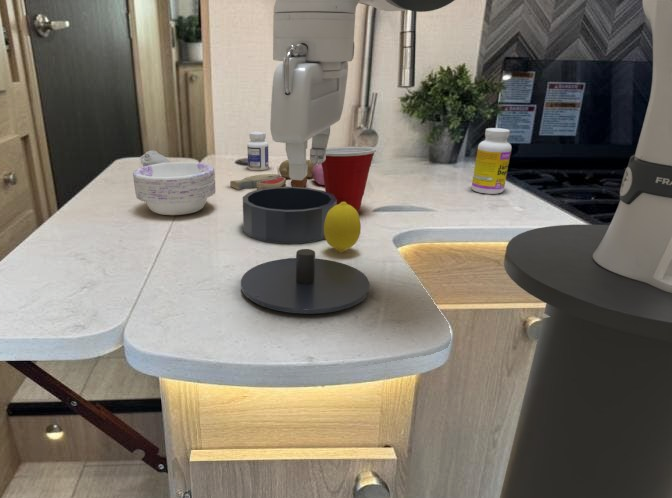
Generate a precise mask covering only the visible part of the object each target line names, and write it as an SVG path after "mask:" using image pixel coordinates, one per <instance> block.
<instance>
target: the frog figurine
mask: <svg viewBox="0 0 672 498" xmlns="http://www.w3.org/2000/svg"><path fill="white" fill-rule="evenodd" d="M139 160H140V163H141V164H142V167H144V166H148V165H153V164H160V163H169V162H171V160H169V158H167V157H166V156H164V155H162V154H160V153H159V152H158V151H156V150H154V149H153V150H148V151H146V152H145V153H144V154H142V155H141V156H140V157H139Z"/></svg>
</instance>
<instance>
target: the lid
mask: <svg viewBox="0 0 672 498" xmlns="http://www.w3.org/2000/svg"><path fill="white" fill-rule="evenodd" d="M295 255H296V256H295V257H290V258H289V257H288V258H280V259H275V260H270V261H266V262H262V263H260V264H258V265H255V266H253V267H251V268H250V269H247V271H246V272H244V274H243V275H242V277H241V280H240V289H241V291H242V293H243V295H244V296H245V297H246V298H247V299H249V300H250V301H251V302H253V303H254V304H257V305H259V306H261V307H264V308H267V309H270V310H273V311H278V312H283V313H284V312H285V313H290V314H304V315H309V314H312V315H314V314H316V315H317V314H326V313H334V312H338V311H343V310H346V309H350V308H351V307H354V306H356V305H358V304H360V303H361V302H363V301H364V300H365V299H366V298H367V297H368V295H369V293H370V290H371V282H370V279H369V278H368V277H367V275H366V274H365V273H364V272H362V271H361V270H360V269H358V268H355V267H353V266H352V265H349V264H345V263H343V262H339V261H335V260H330V259H324V258H316V251H315V250H313V249H311V248H310V249H309V248H301V249H298V250H297V251H296V254H295Z"/></svg>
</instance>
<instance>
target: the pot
mask: <svg viewBox="0 0 672 498" xmlns="http://www.w3.org/2000/svg"><path fill="white" fill-rule="evenodd" d="M335 205H337V199H336V198H335V196H334V195H333V194H330V193H328V192H325V190H321V189H317V188H313V187H303V188H302V187H292V186H286V187H273V188H266V189H260V190H257V189H256V190H254V191H253V190H252V191H250V192H247V193H246V194H245V195H243V196H242V223H243V224H242V226H243V232H244V233H245V234H246V235H247V236H249V237H250V238H253V239H254V240H258V241H261V242H266V243H273V244H283V245H285V244H286V245H295V244H307V243H315V242H319V241H322V240H326V238H325V235H324V222H325V218H326V216H327V213H328V211H329V210H330V209H331V208H332V207H334V206H335Z"/></svg>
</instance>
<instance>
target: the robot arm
mask: <svg viewBox="0 0 672 498" xmlns="http://www.w3.org/2000/svg"><path fill="white" fill-rule="evenodd" d="M454 1H455V0H275V2H274V5H273V19H272V20H273V21H272V24H273V25H272V27H273V28H272V59H273V61H276V62H282V63H279V64H278V65H276V67H275V70H274V73H273V77H272V85H271V103H270V125H269V127H270V128H269V129H270V135H271V138H272V141H273V142H275V143H281V144H285V153H286V157H287V160H288V162H289V177H290V178H289V179H290V180H291V181H292V180H303V179H304V178H305V177H306V176H307V173H308V172H307V169H308V162H306V160H307V149H308V141H309V140H310V139H311V147H310V149H309V160H310V162H311V163H312V164H321V163H323V162H324V161H325V160H326V148H328V144H329V139H330V136H331V126H333V125H334V124H336V123H338V122H339V121H340V120H341V117H342V115H343V111H344V110H343V109H344V104H345V98H346V90H347V81H348V74H349V62H352V61H353V59H354V56H355V28H356V27H355V26H356V11H357V6H358V4H361V5H365V6H370V7H373V8H375V9H377V10H380V11H385V12H407V11H411V12H417V13H425V12H433V11H436V10H439V9H442V8H444V7H447V6H448V5H450V4H452V3H454ZM642 9H643V13H644V15H645V17H646V19H647V21H648V23H649V25H650V28H651V33H652V34H651V36H652V37H651V38H652V77H651V78H652V79H651V87H650V95H649V100H648V104H647V107H646V111H645V116H644V120H643V123H642V127H641V131H640V135H639V137H638V142H637V145H636V148H635V153H634V154H632V155H631V156H630V158H629V161H628V164H627V167H626V168H625V170H624V174H623V177H622V181H621V185H620V187H619V202H618V205H617V207H616V210H615V212H614V215H613V218H612V219H611V221H610V223H609V225H610V226H609V228H608V230H607V232H606V234H605V236H604V238H603V239H602V241H601V243H600V244H599V246H598V248H597V249H596V250H595V252H594V253H593V259H594V260H595V262H596V263H598V264H599V265H600V266H602V267H604V268H605V269H607V270H609V271H612V272H614V273H616V274H619V275H622V276H625V277H628V278H631V279H634V280H638V281H641V282H644V283H647V284H650V285H652V286H654V287H656V288H659V289H661V290H663V291H666V292H669V293H672V0H642Z"/></svg>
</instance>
